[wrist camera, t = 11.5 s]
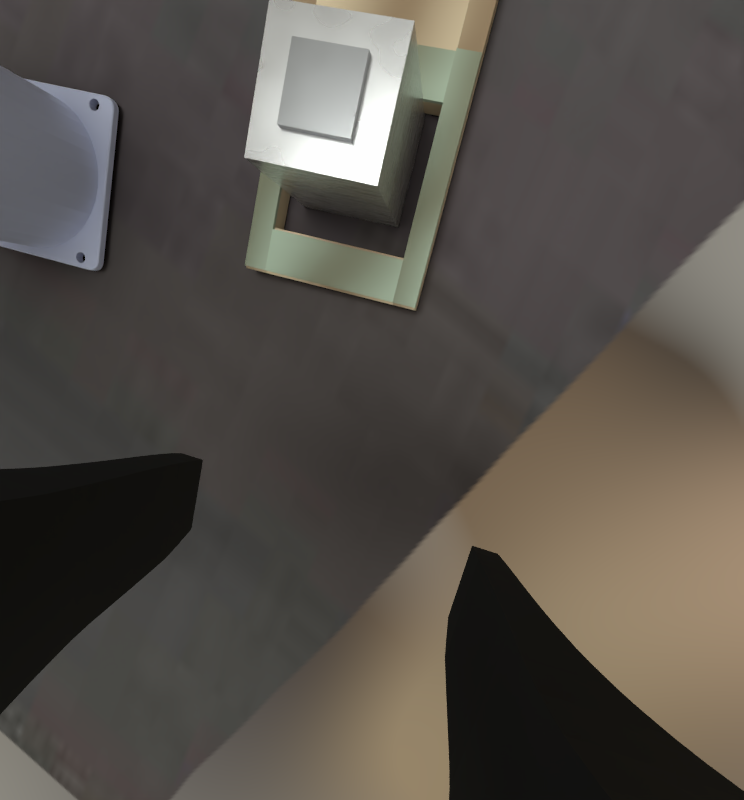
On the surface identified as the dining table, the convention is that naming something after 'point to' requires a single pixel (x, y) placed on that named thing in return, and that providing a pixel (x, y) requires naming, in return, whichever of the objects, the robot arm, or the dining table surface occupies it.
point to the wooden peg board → (450, 100)
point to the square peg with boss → (338, 109)
